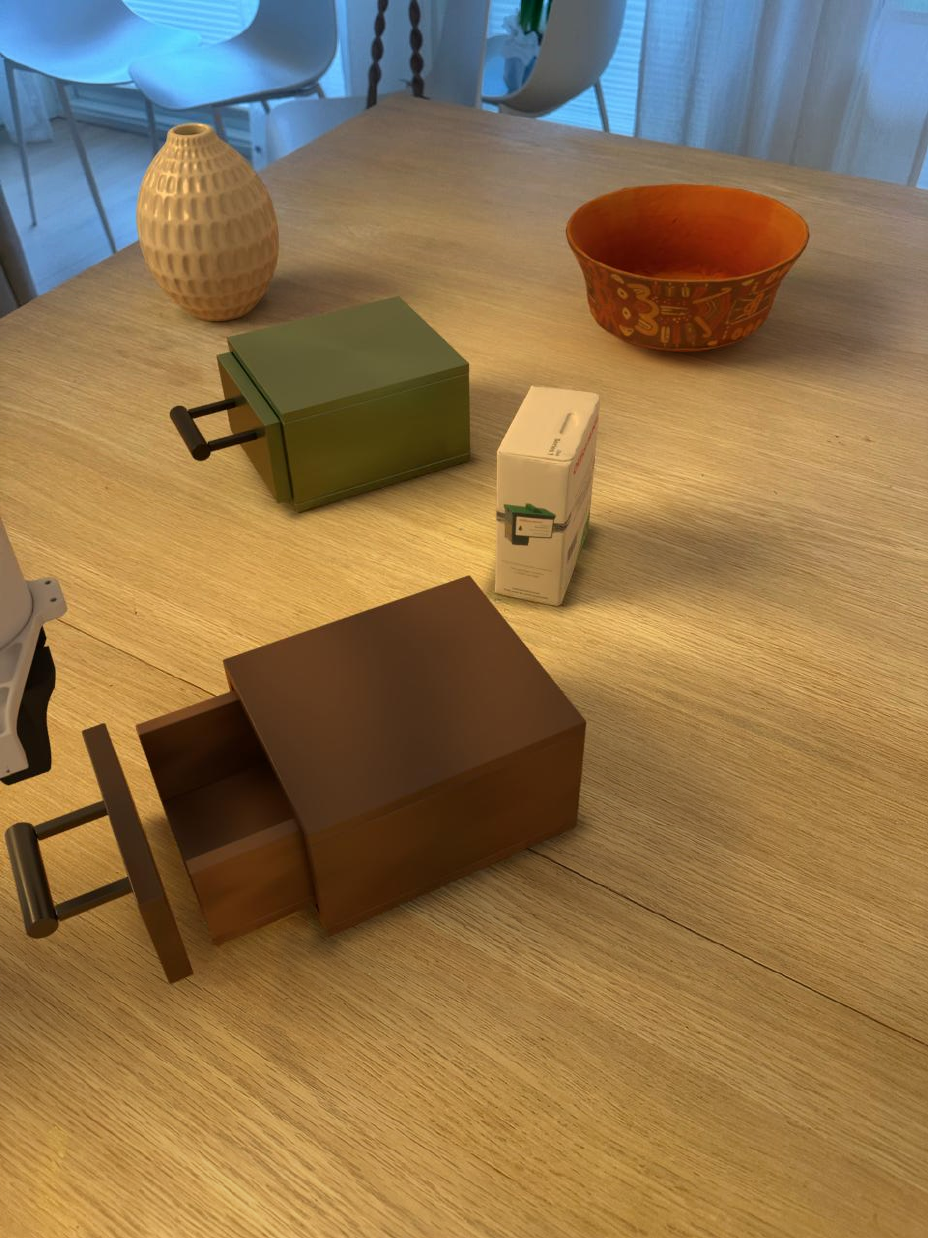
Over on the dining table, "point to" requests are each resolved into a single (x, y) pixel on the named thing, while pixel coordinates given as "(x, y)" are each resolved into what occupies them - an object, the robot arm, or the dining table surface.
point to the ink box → (544, 493)
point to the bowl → (684, 262)
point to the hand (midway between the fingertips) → (26, 768)
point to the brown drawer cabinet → (412, 746)
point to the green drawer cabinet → (360, 398)
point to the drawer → (241, 427)
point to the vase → (207, 225)
